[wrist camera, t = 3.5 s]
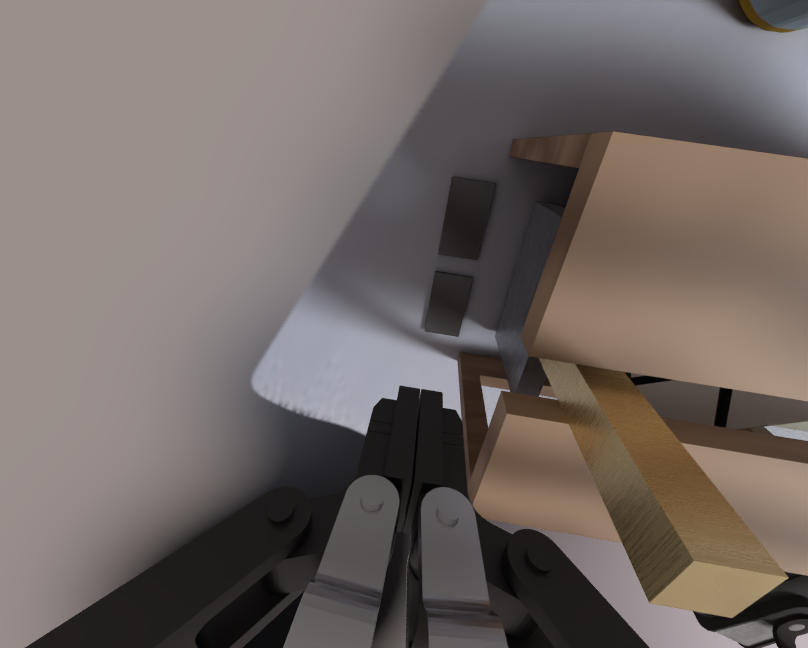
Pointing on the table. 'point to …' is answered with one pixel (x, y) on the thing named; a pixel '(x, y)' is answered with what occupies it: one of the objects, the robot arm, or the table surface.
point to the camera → (767, 617)
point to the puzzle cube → (717, 404)
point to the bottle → (777, 14)
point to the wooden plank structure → (647, 324)
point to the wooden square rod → (638, 465)
